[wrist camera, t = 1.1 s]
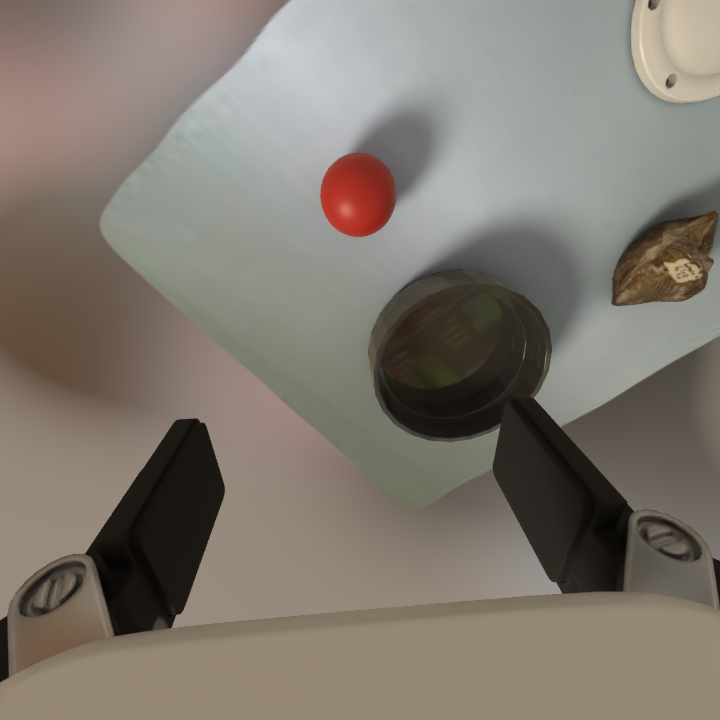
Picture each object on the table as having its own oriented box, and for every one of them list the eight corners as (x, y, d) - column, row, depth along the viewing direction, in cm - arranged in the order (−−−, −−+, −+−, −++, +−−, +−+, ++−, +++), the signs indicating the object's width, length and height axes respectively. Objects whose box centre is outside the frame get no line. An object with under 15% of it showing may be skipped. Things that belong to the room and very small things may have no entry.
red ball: (387, 151, 29) (399, 144, 23) (392, 227, 31) (404, 236, 26) (316, 160, 29) (312, 155, 23) (327, 235, 31) (326, 246, 26)
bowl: (532, 258, 34) (565, 271, 29) (514, 401, 42) (538, 430, 37) (360, 280, 33) (364, 297, 29) (375, 419, 41) (381, 451, 37)
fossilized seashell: (717, 183, 29) (591, 245, 33) (782, 235, 26) (633, 298, 29) (692, 239, 35) (587, 286, 39) (742, 286, 32) (622, 333, 35)
